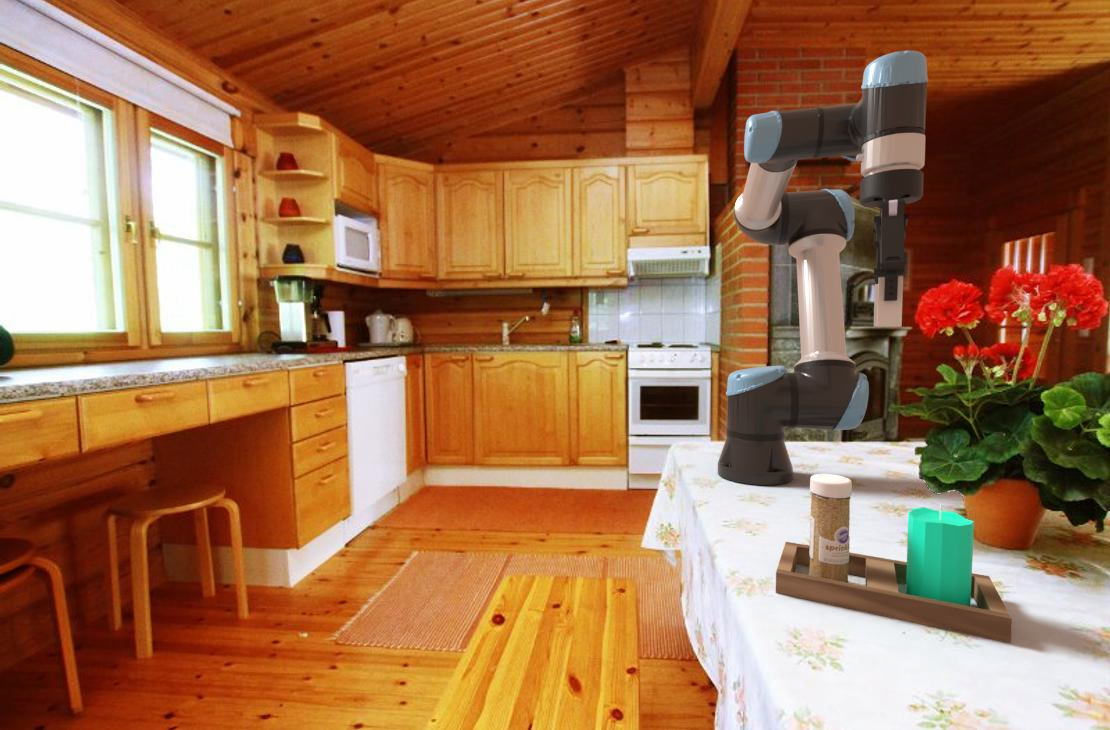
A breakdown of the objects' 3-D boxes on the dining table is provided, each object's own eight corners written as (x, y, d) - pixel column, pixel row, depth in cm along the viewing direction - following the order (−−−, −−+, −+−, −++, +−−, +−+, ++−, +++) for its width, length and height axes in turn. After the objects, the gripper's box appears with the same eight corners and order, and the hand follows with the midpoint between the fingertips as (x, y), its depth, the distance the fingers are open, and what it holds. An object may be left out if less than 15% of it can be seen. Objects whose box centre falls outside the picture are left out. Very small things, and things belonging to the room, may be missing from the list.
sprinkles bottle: (836, 596, 63) (839, 484, 63) (800, 581, 67) (802, 476, 66) (856, 586, 66) (859, 478, 65) (820, 572, 70) (823, 470, 69)
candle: (973, 626, 57) (978, 515, 56) (906, 610, 60) (909, 506, 59) (966, 601, 62) (971, 499, 61) (904, 588, 65) (908, 491, 64)
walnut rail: (785, 559, 74) (785, 541, 74) (988, 596, 63) (989, 576, 63) (775, 592, 65) (776, 572, 64) (1010, 642, 54) (1011, 618, 54)
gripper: (859, 196, 87) (855, 326, 89) (861, 153, 66) (856, 327, 67) (914, 190, 84) (910, 326, 85) (935, 142, 62) (929, 326, 64)
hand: (886, 327), depth 76 cm, fingers open, 13 cm apart
